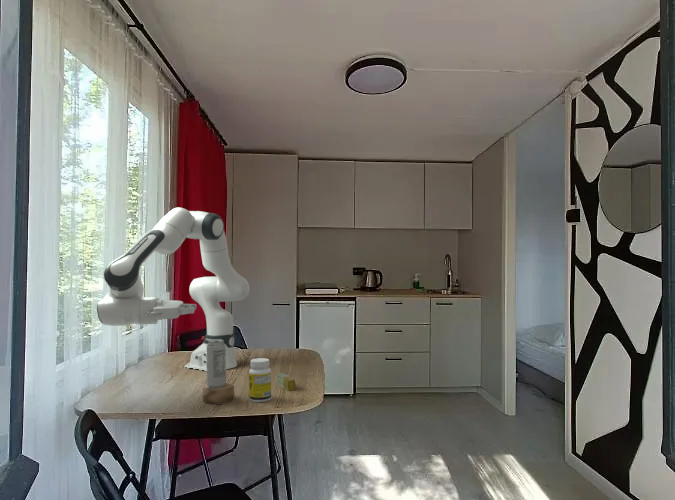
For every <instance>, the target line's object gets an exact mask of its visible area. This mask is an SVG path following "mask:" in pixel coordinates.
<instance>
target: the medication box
mask: <svg viewBox="0 0 675 500" xmlns="http://www.w3.org/2000/svg"><path fill="white" fill-rule="evenodd" d="M276 375H277V378H276V379H277V384H278V385H279V386H281V387H282V388H284V389H285V390H286V391H288V392H291V391H292V392H293V391H296V380H295V379H294V378H293V377H291V376H290V375H288V374H287V373H284V372H278V373H276Z"/></svg>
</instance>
